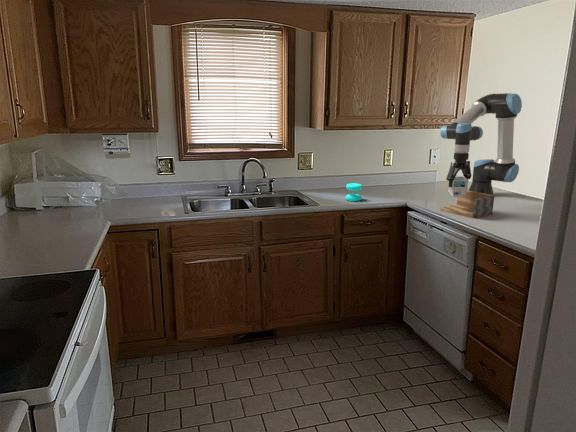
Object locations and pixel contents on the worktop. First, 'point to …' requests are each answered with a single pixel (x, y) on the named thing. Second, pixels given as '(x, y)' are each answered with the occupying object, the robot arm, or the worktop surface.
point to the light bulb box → (459, 186)
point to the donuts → (354, 188)
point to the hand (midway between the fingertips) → (457, 191)
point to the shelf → (472, 205)
